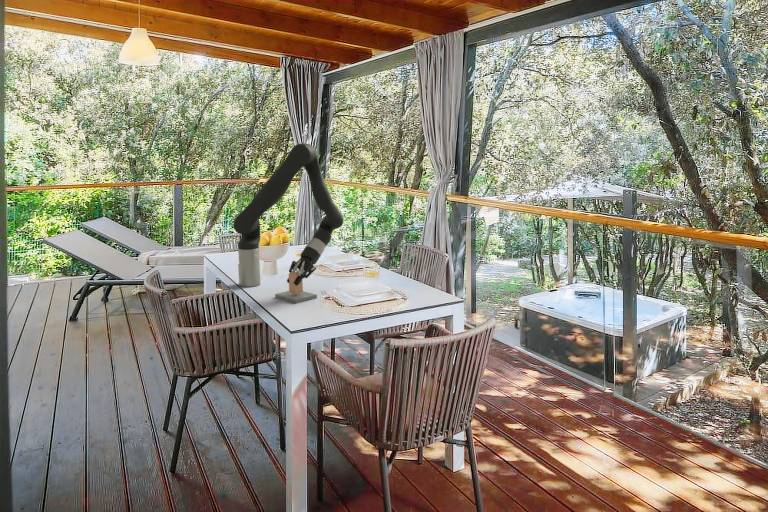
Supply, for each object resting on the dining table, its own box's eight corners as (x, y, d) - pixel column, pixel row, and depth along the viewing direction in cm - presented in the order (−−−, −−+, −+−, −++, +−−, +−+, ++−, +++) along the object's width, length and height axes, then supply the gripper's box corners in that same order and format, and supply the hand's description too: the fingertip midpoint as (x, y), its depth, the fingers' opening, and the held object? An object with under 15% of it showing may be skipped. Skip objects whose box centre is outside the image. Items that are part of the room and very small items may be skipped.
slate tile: (275, 297, 230) (275, 294, 230) (295, 292, 238) (295, 289, 238) (296, 303, 221) (296, 299, 221) (316, 298, 229) (316, 294, 229)
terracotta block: (289, 292, 229) (288, 273, 228) (296, 290, 232) (296, 272, 230) (295, 293, 226) (294, 275, 225) (302, 292, 229) (302, 273, 228)
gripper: (297, 243, 236) (276, 276, 229) (319, 247, 226) (297, 281, 220) (307, 254, 240) (286, 286, 234) (329, 258, 231) (308, 291, 225)
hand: (291, 283), depth 227 cm, fingers closed on terracotta block, 4 cm apart
